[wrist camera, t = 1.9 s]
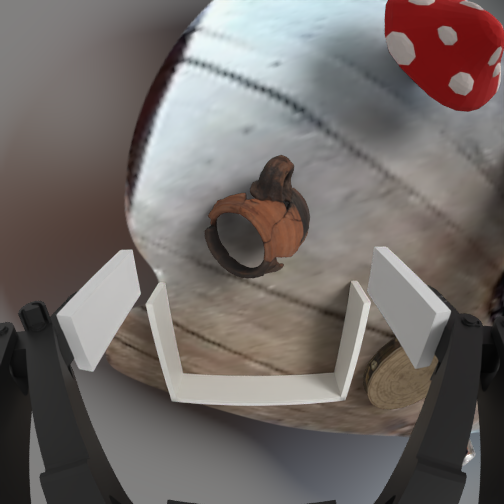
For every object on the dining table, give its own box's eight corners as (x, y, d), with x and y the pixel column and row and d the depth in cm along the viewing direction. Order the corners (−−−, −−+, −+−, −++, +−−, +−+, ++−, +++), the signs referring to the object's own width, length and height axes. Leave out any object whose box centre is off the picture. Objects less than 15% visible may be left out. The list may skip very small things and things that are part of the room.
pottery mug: (304, 260, 33) (271, 303, 27) (235, 228, 36) (191, 259, 30) (335, 161, 26) (305, 183, 20) (250, 133, 29) (199, 146, 23)
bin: (357, 280, 33) (370, 302, 28) (338, 375, 39) (345, 400, 34) (159, 282, 34) (145, 304, 29) (178, 376, 39) (171, 401, 35)
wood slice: (463, 328, 37) (471, 339, 34) (417, 396, 43) (423, 407, 40) (391, 319, 36) (400, 331, 33) (346, 396, 41) (350, 409, 39)
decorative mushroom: (469, 56, 22) (551, 41, 8) (440, 138, 26) (535, 152, 12) (380, -12, 20) (440, -70, 6) (339, 68, 24) (406, 19, 10)
